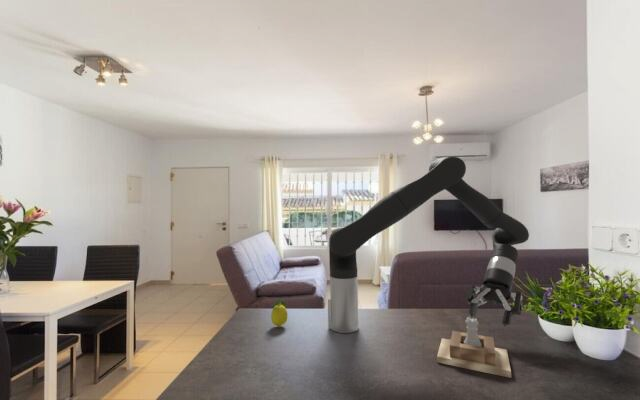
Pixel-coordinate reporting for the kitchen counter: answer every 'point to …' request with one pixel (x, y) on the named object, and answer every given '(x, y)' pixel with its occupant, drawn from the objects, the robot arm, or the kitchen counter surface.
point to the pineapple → (279, 314)
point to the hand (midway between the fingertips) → (487, 320)
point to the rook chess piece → (472, 332)
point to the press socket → (474, 355)
